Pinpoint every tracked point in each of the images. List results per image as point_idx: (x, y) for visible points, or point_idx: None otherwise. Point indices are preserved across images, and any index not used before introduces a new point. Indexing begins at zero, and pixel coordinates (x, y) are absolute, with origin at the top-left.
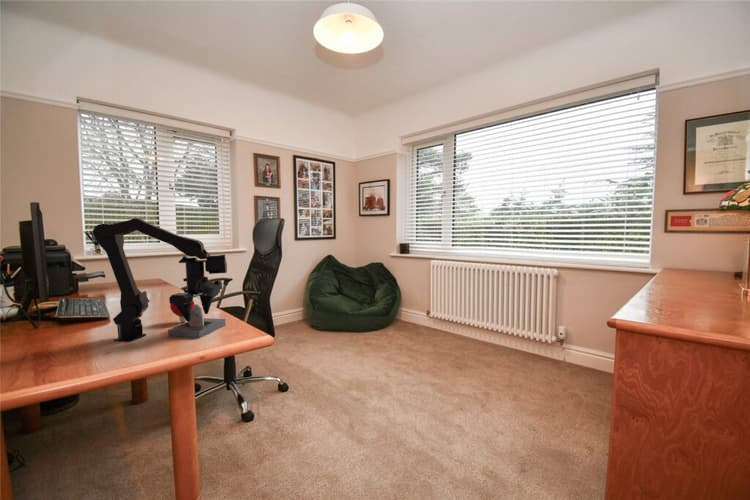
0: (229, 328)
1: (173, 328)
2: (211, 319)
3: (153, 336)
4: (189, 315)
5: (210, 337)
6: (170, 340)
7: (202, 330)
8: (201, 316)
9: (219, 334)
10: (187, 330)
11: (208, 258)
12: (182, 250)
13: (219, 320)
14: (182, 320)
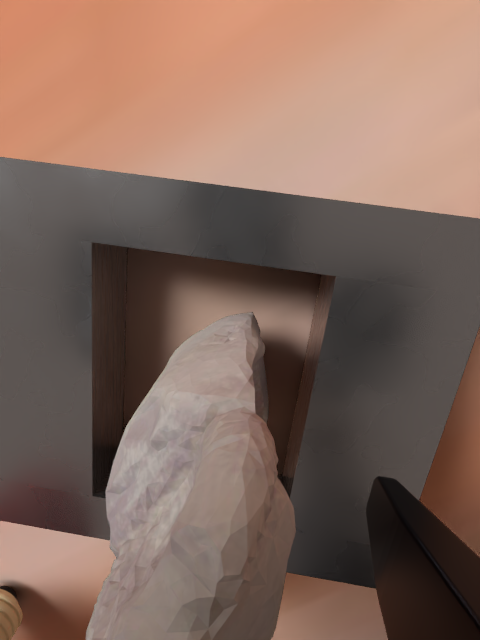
0: (108, 33)
1: (351, 564)
2: (4, 340)
3: (345, 625)
4: (451, 549)
5: (449, 96)
6: (473, 468)
7: (442, 214)
8: (251, 378)
9: (342, 35)
10: (450, 395)
11: None
12: None
13: (24, 202)
14: (13, 611)
